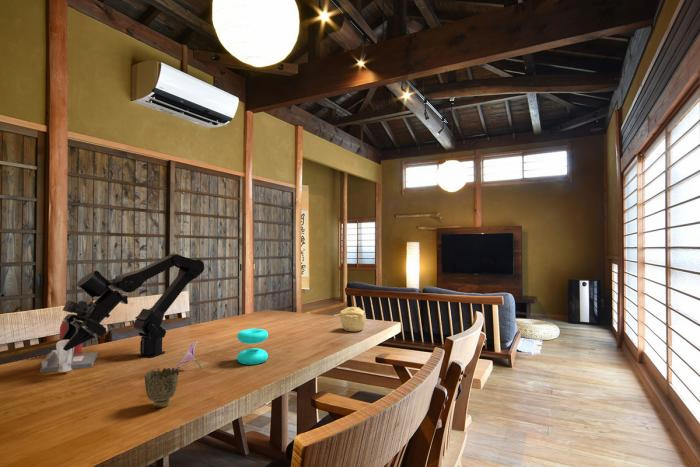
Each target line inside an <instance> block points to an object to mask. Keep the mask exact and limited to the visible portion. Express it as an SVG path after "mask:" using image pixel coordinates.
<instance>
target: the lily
mask: <svg viewBox="0 0 700 467" xmlns="http://www.w3.org/2000/svg"><path fill="white" fill-rule="evenodd" d="M201 339H202V338H201V337H200V338H199V339H198V340H197V341H196V342H195V341H192V343H191V344H190V345H189V347H188V348H187V351H186V352H182V353H181V354H182V355H184V357H183V359H181V360H180V361H179V362H178V363H177V364H176V365H175V367H173V368H174V369H175V370H176V369H177V367H178V366H179V368H181V367H182V365H183V364H184V363H188V362H190V361H195V362H196V364H197V365H198V366H199V367H200V369H201V370H203V367H202V366H201V364H200V363H199V362H198V360H197V359H196V358H195V348H196V346H197V344H198V342H199V341H201Z"/></svg>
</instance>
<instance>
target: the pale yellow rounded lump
mask: <svg viewBox="0 0 700 467" xmlns="http://www.w3.org/2000/svg"><path fill="white" fill-rule="evenodd" d="M365 313H366V312H365V310H363V309H362V308H361V307H360V306H359V307H356V306H350V307H349V306H347V307H346V308H344V309H342V310H340V320H339V321H340V324H341V326H342V328H343V330H344V331H347V332H359V331H362V330H364V328H365V326H366V321H367V318H366V315H365Z"/></svg>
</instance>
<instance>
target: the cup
mask: <svg viewBox="0 0 700 467" xmlns="http://www.w3.org/2000/svg"><path fill="white" fill-rule="evenodd" d="M174 368H175V367H173V368H172V369H171V368H170V367H167V368H166V367H164V368H163V369H162V370H160V368H158V369H157V371H156V370H153V369H151V370H150V371H147V372H146V374H143V375H144V385H145V393H146V396H147V398H148V399H149V400H150V401H152V406H153V407H154V408H156V409H161V408H165V407H167V406H168V405H169V404H170V403H171V400H170V399H171V398H172V397H173V396H174V394H175V393H176V391H177V386H178V380H179V379H178V378H179V373H180V371H179V369H178V368H175V369H174Z"/></svg>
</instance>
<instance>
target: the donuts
mask: <svg viewBox="0 0 700 467" xmlns="http://www.w3.org/2000/svg"><path fill="white" fill-rule="evenodd" d="M268 337H269V333H268V331H267V330H265V329H263V328H262V329H261V328H248V329H243V330H241V331H239V332H237V335H236V338H237V340H238V341H239V342H240V343H242V344H245V345H246V344H247V345H249V344H250V345H254V344H260V343H263V342H265V341H266V340H267V339H268ZM268 358H269V354H268V352H267V351H266V350H264V349H262V348H255V347H254V348H246V349H244V350H241V351H240V352H238V354H237V355H236V360H237V362H238V363H239V364H242V365H246V366H248V365H249V366H250V365H251V366H252V365H259V364H262V363H265V362H266V361H267V359H268Z"/></svg>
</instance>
